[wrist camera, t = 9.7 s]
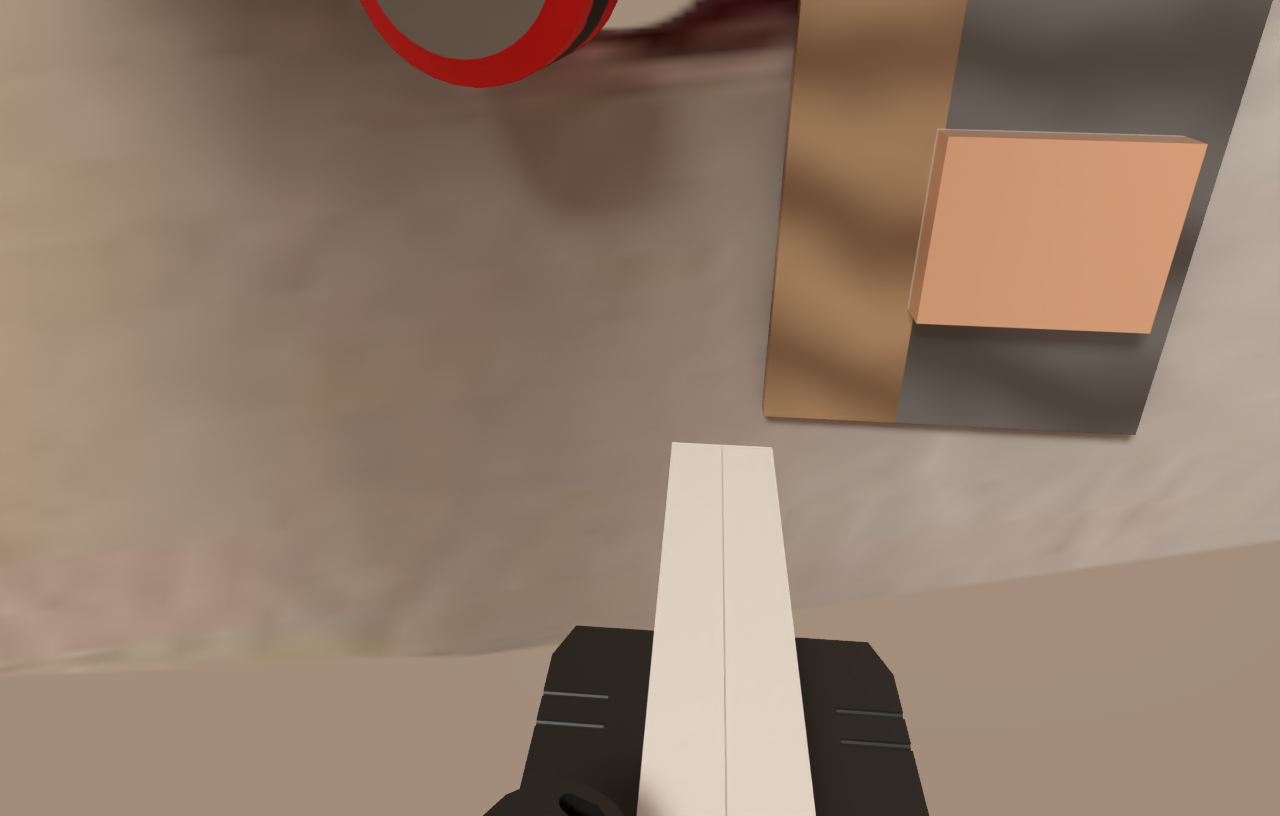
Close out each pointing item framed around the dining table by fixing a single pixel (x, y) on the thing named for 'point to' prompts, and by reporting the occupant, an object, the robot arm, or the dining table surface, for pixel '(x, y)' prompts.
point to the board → (898, 179)
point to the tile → (1051, 228)
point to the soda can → (486, 35)
